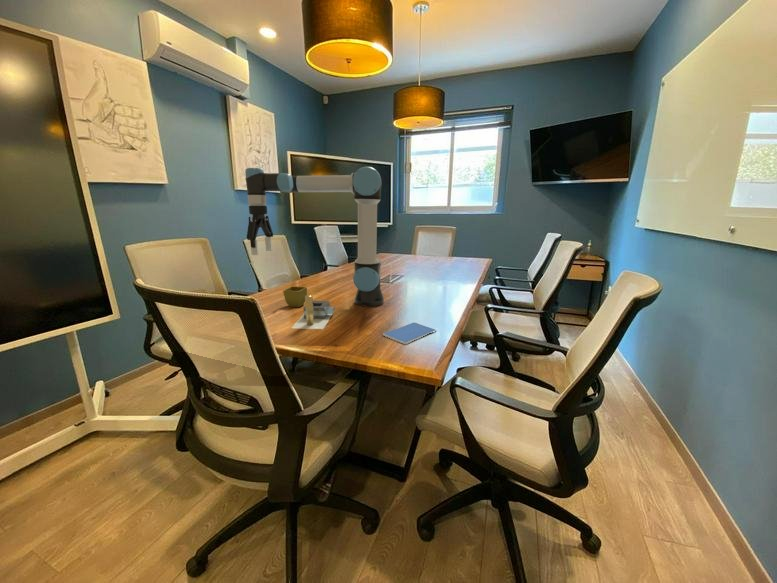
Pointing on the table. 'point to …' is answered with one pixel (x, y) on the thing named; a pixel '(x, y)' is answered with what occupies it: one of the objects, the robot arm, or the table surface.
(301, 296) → the flower pot
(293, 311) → the table surface
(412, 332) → the tablet computer
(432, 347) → the table surface
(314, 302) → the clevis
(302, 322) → the mounting plate
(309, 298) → the brass pin
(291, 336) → the table surface
